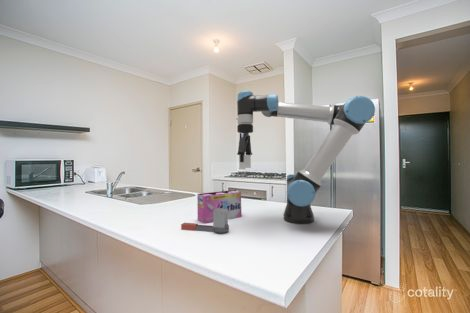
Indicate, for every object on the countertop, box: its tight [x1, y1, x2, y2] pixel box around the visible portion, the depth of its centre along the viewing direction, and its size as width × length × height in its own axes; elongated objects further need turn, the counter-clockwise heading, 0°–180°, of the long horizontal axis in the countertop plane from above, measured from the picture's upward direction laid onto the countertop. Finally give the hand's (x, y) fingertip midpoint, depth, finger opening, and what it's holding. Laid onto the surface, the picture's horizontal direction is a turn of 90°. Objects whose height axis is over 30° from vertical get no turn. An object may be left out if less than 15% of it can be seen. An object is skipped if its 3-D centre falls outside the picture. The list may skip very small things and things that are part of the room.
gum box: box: [196, 189, 242, 224], centre depth 120 cm, size 24×8×14 cm, turn 123°
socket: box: [212, 208, 229, 228], centre depth 99 cm, size 5×5×7 cm
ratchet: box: [180, 222, 230, 235], centre depth 101 cm, size 22×6×6 cm, turn 76°
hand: (245, 168), depth 109 cm, fingers open, 13 cm apart
